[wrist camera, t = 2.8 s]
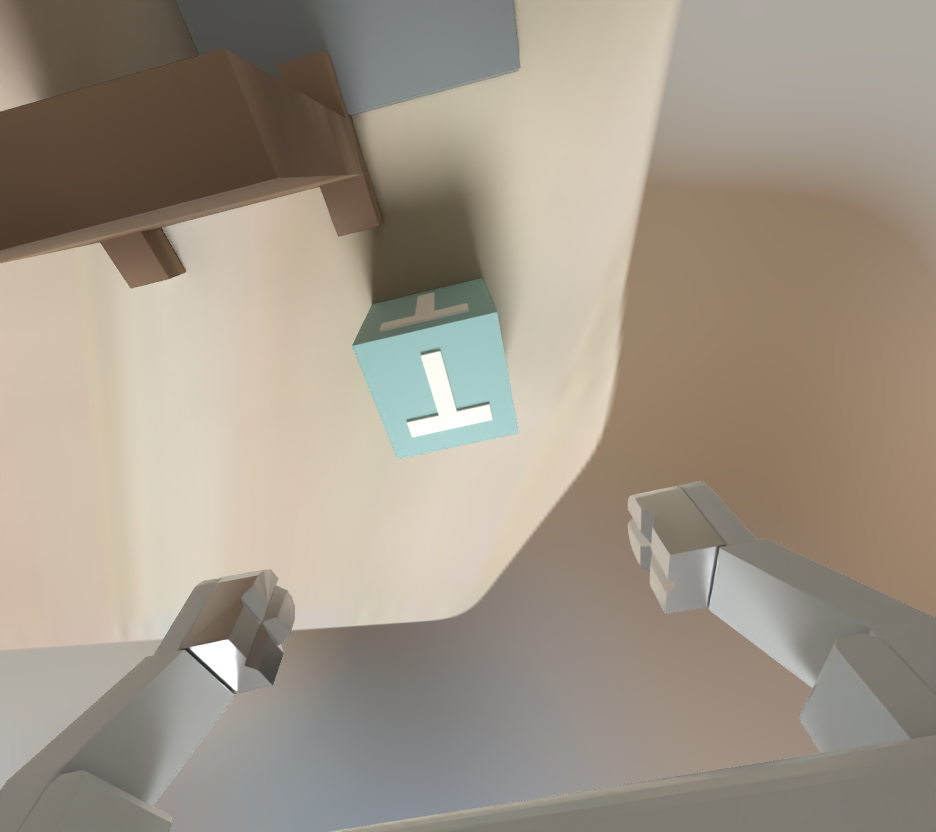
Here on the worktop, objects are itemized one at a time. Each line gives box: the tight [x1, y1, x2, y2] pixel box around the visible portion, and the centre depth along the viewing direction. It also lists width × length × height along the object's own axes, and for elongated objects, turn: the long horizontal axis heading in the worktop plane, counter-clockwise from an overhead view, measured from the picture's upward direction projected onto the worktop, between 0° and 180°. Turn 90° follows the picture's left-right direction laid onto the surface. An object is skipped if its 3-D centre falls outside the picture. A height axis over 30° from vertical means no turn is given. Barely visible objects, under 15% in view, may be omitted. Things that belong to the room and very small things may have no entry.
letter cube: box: [352, 278, 519, 459], centre depth 17 cm, size 5×5×5 cm
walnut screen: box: [0, 48, 383, 288], centre depth 10 cm, size 5×10×10 cm, turn 102°
